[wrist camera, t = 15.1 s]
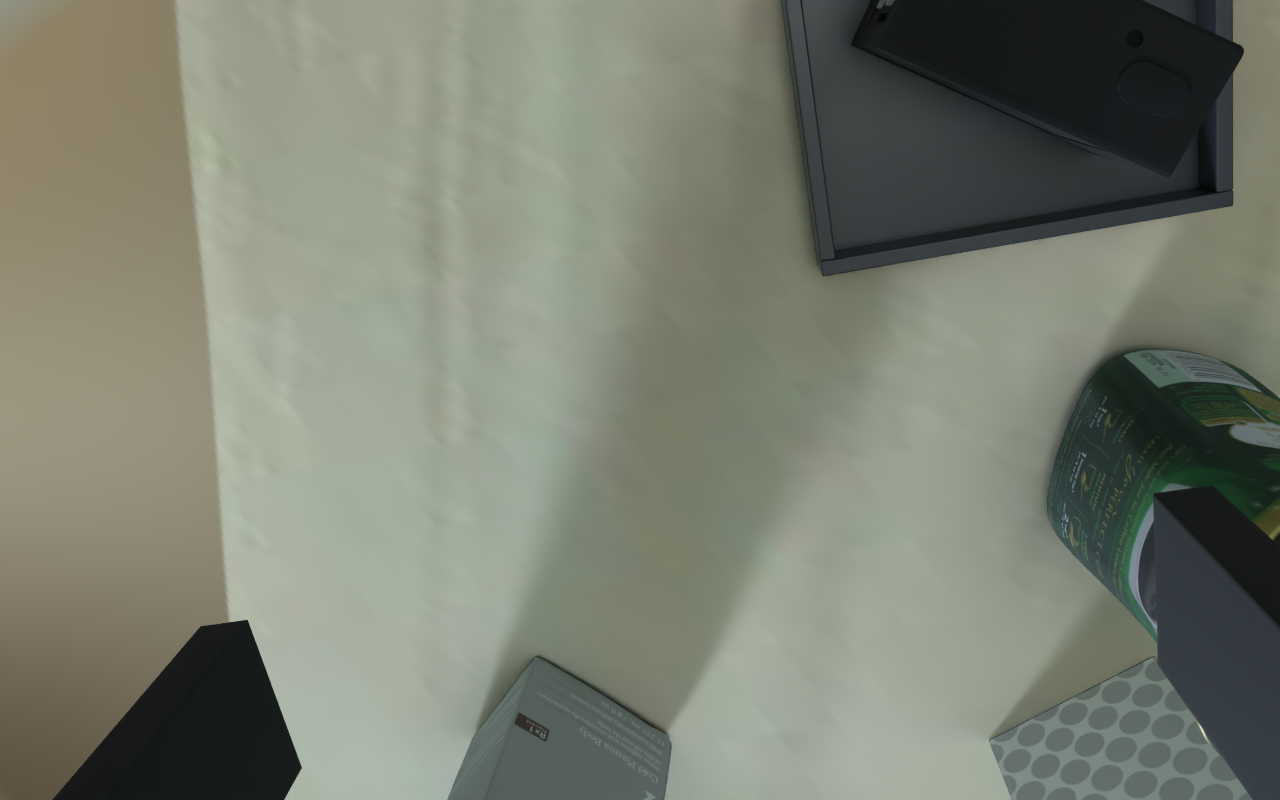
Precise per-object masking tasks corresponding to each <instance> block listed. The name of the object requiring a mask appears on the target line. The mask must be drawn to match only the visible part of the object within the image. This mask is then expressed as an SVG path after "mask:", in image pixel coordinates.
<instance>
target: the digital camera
mask: <svg viewBox="0 0 1280 800" xmlns="http://www.w3.org/2000/svg"><path fill="white" fill-rule="evenodd" d="M851 45H852V46H854V47H856V48H858V49H861V50H863V51H865V52H867V53H869V54H872V55H874V56H876V57H878V58H881V59H883V60H885V61H887V62H889V63H892V64H894V65H896V66H898V67H901V68H903V69H905V70H907V71H910V72H912V73H914V74H916V75H918V76H921V77H923V78H925V79H927V80H930V81H932V82H934V83H936V84H939V85H941V86H943V87H945V88H947V89H950V90H952V91H954V92H956V93H959V94H961V95H963V96H965V97H967V98H970V99H972V100H974V101H976V102H979V103H981V104H983V105H985V106H988V107H990V108H992V109H994V110H996V111H999V112H1001V113H1003V114H1005V115H1008V116H1010V117H1012V118H1014V119H1017V120H1019V121H1021V122H1023V123H1025V124H1028V125H1030V126H1032V127H1034V128H1037V129H1039V130H1041V131H1043V132H1046V133H1048V134H1050V135H1052V136H1054V137H1057V138H1059V139H1061V140H1063V141H1066V142H1068V143H1070V144H1072V145H1074V146H1077V147H1079V148H1081V149H1083V150H1086V151H1088V152H1090V153H1092V154H1095V155H1098V156H1101V157H1104V158H1107V159H1110V160H1113V161H1116V162H1119V163H1122V164H1126V165H1129V166H1132V167H1135V168H1138V169H1141V170H1144V171H1147V172H1150V173H1153V174H1156V175H1160V176H1163V177H1166V178H1169V177H1170V176H1171V175H1172V173H1173V172H1174V170H1175V169H1176V167H1177V165H1178V163H1179V162H1180V160H1181V158H1182V157H1183V155H1184V153H1185V152H1186V150H1187V148H1188V147H1189V145H1190V143H1191V142H1192V140H1193V138H1194V137H1195V135H1196V133H1197V132H1198V130H1199V128H1200V127H1201V125H1202V123H1203V122H1204V120H1205V118H1206V116H1207V115H1208V113H1209V111H1210V110H1211V108H1212V106H1213V105H1214V103H1215V101H1216V100H1217V98H1218V96H1219V95H1220V93H1221V91H1222V90H1223V88H1224V86H1225V85H1226V83H1227V81H1228V80H1229V78H1230V76H1231V75H1232V73H1233V71H1234V70H1235V68H1236V66H1237V65H1238V63H1239V61H1240V60H1241V58H1242V56H1243V53H1244V49H1243V47H1242V46H1241V45H1239V44H1236V43H1234V42H1232V41H1230V40H1228V39H1226V38H1224V37H1221V36H1219V35H1217V34H1215V33H1213V32H1211V31H1208V30H1206V29H1204V28H1202V27H1200V26H1198V25H1195V24H1193V23H1191V22H1189V21H1187V20H1185V19H1183V18H1180V17H1178V16H1176V15H1174V14H1172V13H1170V12H1167V11H1165V10H1163V9H1161V8H1159V7H1157V6H1154V5H1152V4H1150V3H1148V2H1146V1H1144V0H871V1H870V3H869V6H868V8H867V10H866V12H865V14H864V16H863V19H862V21H861V23H860V25H859V27H858V29H857V32H856V34H855V36H854V38H853V40H852V42H851Z"/></svg>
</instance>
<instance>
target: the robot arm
mask: <svg viewBox="0 0 1280 800" xmlns="http://www.w3.org/2000/svg"><path fill="white" fill-rule="evenodd" d="M1153 513H1154V546H1155V578H1156V610H1157V643H1158V666H1159V667H1160V669H1161V670H1162V672H1163V673H1164V674H1165V676H1166V677H1167V679H1168V680H1169V682H1170V683H1171V684H1172V686H1173V687H1174V689H1175V690H1176V692H1177V693H1178V694H1179V696H1180V697H1181V699H1182V700H1183V702H1184V703H1185V704H1186V706H1187V707H1188V709H1189V710H1190V711H1191V713H1192V714H1193V716H1194V717H1195V719H1196V720H1197V721H1198V723H1199V724H1200V726H1201V727H1202V729H1203V730H1204V731H1205V733H1206V734H1207V736H1208V737H1209V739H1210V740H1211V741H1212V743H1213V744H1214V746H1215V747H1216V748H1217V750H1218V751H1219V753H1220V754H1221V756H1222V757H1223V758H1224V760H1225V761H1226V763H1227V764H1228V766H1229V767H1230V768H1231V770H1232V771H1233V773H1234V774H1235V776H1236V777H1237V778H1238V780H1239V781H1240V783H1241V784H1242V786H1243V787H1244V788H1245V790H1246V791H1247V793H1248V794H1249V795H1250V797H1251V798H1252V800H1280V546H1279V545H1278V544H1277V543H1276V542H1274V541H1273V540H1272V539H1271V538H1270V537H1269V536H1268V535H1267V534H1266V533H1265V532H1263V531H1262V530H1261V529H1260V528H1259V527H1258V526H1257V525H1256V524H1255V523H1254V522H1252V521H1251V520H1250V519H1249V518H1248V517H1247V516H1246V515H1245V514H1244V513H1243V512H1241V511H1240V510H1239V509H1238V508H1237V507H1236V506H1235V505H1234V504H1233V503H1232V502H1230V501H1229V500H1228V499H1227V498H1226V497H1225V496H1224V495H1223V494H1222V493H1221V492H1219V491H1218V490H1217V489H1216V488H1215V487H1214V486H1213V485H1209V486H1202V487H1195V488H1188V489H1181V490H1174V491H1166V492H1159V493H1153ZM301 768H302V767H301V764H300V762H299V759H298V756H297V753H296V751H295V748H294V745H293V743H292V740H291V737H290V734H289V732H288V729H287V726H286V723H285V721H284V718H283V715H282V713H281V710H280V707H279V704H278V702H277V699H276V696H275V693H274V691H273V688H272V685H271V683H270V680H269V677H268V674H267V672H266V669H265V666H264V663H263V661H262V658H261V655H260V653H259V650H258V647H257V644H256V642H255V639H254V636H253V633H252V631H251V628H250V625H249V623H248V620H243V621H236V622H229V623H222V624H216V625H208V626H201V627H200V628H199V629H198V630H197V631H196V633H195V634H194V635H193V636H192V637H191V638H190V640H189V641H188V642H187V643H186V644H185V645H184V647H183V648H182V649H181V650H180V651H179V652H178V654H177V655H176V656H175V657H174V658H173V659H172V661H171V662H170V663H169V664H168V665H167V666H166V668H165V669H164V670H163V671H162V672H161V673H160V675H159V676H158V677H157V678H156V679H155V681H154V682H153V683H152V684H151V685H150V686H149V688H148V689H147V690H146V691H145V692H144V693H143V695H142V696H141V697H140V698H139V699H138V700H137V702H136V703H135V704H134V705H133V706H132V707H131V709H130V710H129V711H128V712H127V713H126V714H125V716H124V717H123V718H122V719H121V720H120V721H119V723H118V724H117V725H116V726H115V727H114V728H113V730H112V731H111V732H110V733H109V734H108V735H107V737H106V738H105V739H104V740H103V741H102V743H101V744H100V745H99V746H98V747H97V748H96V750H95V751H94V752H93V753H92V754H91V755H90V757H89V758H88V759H87V760H86V761H85V762H84V764H83V765H82V766H81V767H80V768H79V769H78V771H77V772H76V773H75V774H74V775H73V776H72V778H71V779H70V780H69V781H68V782H67V783H66V785H65V786H64V787H63V788H62V789H61V790H60V792H59V793H58V794H57V795H56V796H55V797H54V799H53V800H284V799H285V797H286V795H287V793H288V792H289V790H290V788H291V786H292V784H293V783H294V781H295V779H296V777H297V775H298V774H299V772H300V770H301Z"/></svg>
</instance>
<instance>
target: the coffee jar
mask: <svg viewBox="0 0 1280 800" xmlns="http://www.w3.org/2000/svg"><path fill="white" fill-rule="evenodd" d="M1209 485H1213V486H1214V487H1215V488H1216V489H1217V490H1218V491H1219V492H1221V493H1222V494H1223V495H1224V496H1225V497H1226V498H1227V499H1228V500H1229V501H1230V502H1232V503H1233V504H1234V505H1235V506H1236V507H1237V508H1238V509H1239V510H1240V511H1241V512H1243V513H1244V514H1245V515H1246V516H1247V517H1248V518H1249V519H1250V520H1251V521H1252V522H1254V523H1255V524H1256V525H1257V526H1258V527H1259V528H1260V529H1261V530H1262V531H1263V532H1265V533H1266V534H1267V535H1268V536H1269V537H1270V538H1271V539H1272V540H1273V541H1274V542H1276V543H1277V544H1278V545H1279V546H1280V399H1279V398H1278V397H1277V396H1276V395H1275V394H1274V393H1273V392H1271V391H1270V390H1269V389H1268V388H1266V387H1265V386H1264V385H1263V384H1261V383H1260V382H1259V381H1257V380H1256V379H1254V378H1253V377H1252V376H1250V375H1249V374H1247V373H1246V372H1244V371H1243V370H1241V369H1239V368H1237V367H1235V366H1233V365H1231V364H1228V363H1226V362H1223V361H1219V360H1216V359H1213V358H1209V357H1206V356H1202V355H1198V354H1194V353H1189V352H1183V351H1174V350H1159V349H1145V350H1139V351H1133V352H1130V353H1127V354H1124V355H1121V356H1119V357H1116V358H1115V359H1113V360H1111V361H1110V362H1108V363H1107V364H1106V365H1104V366H1103V367H1101V368H1100V369H1099V370H1098V371H1097V372H1096V374H1095V375H1094V376H1093V377H1092V378H1091V380H1090V381H1089V382H1088V384H1087V386H1086V387H1085V389H1084V391H1083V393H1082V395H1081V397H1080V399H1079V401H1078V403H1077V405H1076V407H1075V410H1074V412H1073V414H1072V416H1071V418H1070V420H1069V423H1068V425H1067V427H1066V430H1065V433H1064V436H1063V439H1062V442H1061V445H1060V447H1059V450H1058V454H1057V457H1056V460H1055V464H1054V468H1053V472H1052V476H1051V481H1050V486H1049V492H1048V498H1047V510H1048V516H1049V520H1050V523H1051V525H1052V527H1053V529H1054V531H1055V533H1056V534H1057V536H1058V537H1059V538H1060V539H1061V541H1062V542H1063V543H1064V544H1065V546H1066V547H1067V548H1068V549H1069V550H1070V551H1071V552H1072V554H1073V555H1074V556H1075V557H1076V558H1077V559H1078V560H1079V561H1080V562H1081V563H1082V564H1083V565H1084V566H1085V567H1086V568H1087V569H1088V570H1089V571H1090V572H1091V573H1092V574H1093V575H1094V576H1095V577H1096V578H1097V579H1098V580H1099V581H1100V582H1101V583H1102V584H1103V585H1104V586H1105V587H1107V588H1108V589H1109V590H1110V591H1111V592H1112V594H1113V595H1114V596H1115V597H1116V598H1117V599H1118V600H1119V601H1120V602H1121V603H1122V604H1123V605H1124V606H1125V607H1126V608H1127V609H1128V610H1129V611H1130V613H1131V614H1132V615H1133V616H1134V617H1135V618H1136V619H1137V620H1138V621H1139V622H1140V624H1141V625H1142V626H1143V627H1144V628H1145V629H1146V630H1147V631H1148V632H1149V634H1150V635H1151V636H1152V637H1153V638H1154V640H1155V641H1156V642H1157V610H1156V578H1155V546H1154V513H1153V493H1159V492H1166V491H1174V490H1181V489H1188V488H1195V487H1202V486H1209ZM1194 718H1195V717H1194ZM1195 720H1196V719H1195ZM1196 723H1197V725H1198V726H1199V728H1200V730H1201V732H1202V734H1203V735H1204V737H1205V739H1206V740H1207V741H1208V743H1209V744H1210V745H1211V746H1212V747H1213V748H1214V750H1215V751H1216V752H1217V753H1218V754H1219V755H1220V756H1221V754H1220V753H1219V751H1218V750H1217V748H1216V747H1215V746H1214V744H1213V743H1212V741H1211V740H1210V739H1209V737H1208V736H1207V734H1206V733H1205V731H1204V730H1203V729H1202V727H1201V726H1200V724H1199V723H1198V721H1197V720H1196ZM1221 757H1222V756H1221ZM1222 758H1223V757H1222ZM1223 759H1224V758H1223Z"/></svg>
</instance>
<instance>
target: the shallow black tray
mask: <svg viewBox="0 0 1280 800" xmlns="http://www.w3.org/2000/svg"><path fill="white" fill-rule="evenodd" d="M870 1H871V0H781V5H782V12H783V19H784V27H785V34H786V41H787V48H788V56H789V63H790V70H791V77H792V85H793V92H794V99H795V106H796V114H797V121H798V128H799V135H800V143H801V150H802V157H803V164H804V171H805V179H806V186H807V193H808V200H809V208H810V215H811V222H812V229H813V237H814V244H815V251H816V258H817V264H818V266H819V269H820V271H821V273H822V275H823V276H828V275H834V274H840V273H846V272H852V271H857V270H863V269H869V268H875V267H881V266H886V265H892V264H898V263H904V262H910V261H915V260H921V259H927V258H933V257H939V256H945V255H950V254H956V253H962V252H968V251H974V250H979V249H985V248H991V247H997V246H1003V245H1009V244H1014V243H1020V242H1026V241H1032V240H1038V239H1043V238H1049V237H1055V236H1061V235H1067V234H1072V233H1078V232H1084V231H1090V230H1096V229H1102V228H1107V227H1113V226H1119V225H1125V224H1131V223H1136V222H1142V221H1148V220H1154V219H1160V218H1165V217H1171V216H1177V215H1183V214H1189V213H1195V212H1200V211H1206V210H1212V209H1218V208H1224V207H1229V206H1233V190H1232V189H1233V73H1232V75H1231V76H1230V78H1229V80H1228V81H1227V83H1226V85H1225V86H1224V88H1223V90H1222V91H1221V93H1220V95H1219V96H1218V98H1217V100H1216V101H1215V103H1214V105H1213V106H1212V108H1211V110H1210V111H1209V113H1208V115H1207V116H1206V118H1205V120H1204V122H1203V123H1202V125H1201V127H1200V128H1199V130H1198V132H1197V133H1196V135H1195V137H1194V138H1193V140H1192V142H1191V143H1190V145H1189V147H1188V148H1187V150H1186V152H1185V153H1184V155H1183V157H1182V158H1181V160H1180V162H1179V163H1178V165H1177V167H1176V169H1175V170H1174V172H1173V173H1172V175H1171V176H1170V177H1169V178H1166V177H1163V176H1160V175H1156V174H1153V173H1150V172H1147V171H1144V170H1141V169H1138V168H1135V167H1132V166H1129V165H1126V164H1122V163H1119V162H1116V161H1113V160H1110V159H1107V158H1104V157H1101V156H1098V155H1095V154H1092V153H1090V152H1088V151H1086V150H1083V149H1081V148H1079V147H1077V146H1074V145H1072V144H1070V143H1068V142H1066V141H1063V140H1061V139H1059V138H1057V137H1054V136H1052V135H1050V134H1048V133H1046V132H1043V131H1041V130H1039V129H1037V128H1034V127H1032V126H1030V125H1028V124H1025V123H1023V122H1021V121H1019V120H1017V119H1014V118H1012V117H1010V116H1008V115H1005V114H1003V113H1001V112H999V111H996V110H994V109H992V108H990V107H988V106H985V105H983V104H981V103H979V102H976V101H974V100H972V99H970V98H967V97H965V96H963V95H961V94H959V93H956V92H954V91H952V90H950V89H947V88H945V87H943V86H941V85H939V84H936V83H934V82H932V81H930V80H927V79H925V78H923V77H921V76H918V75H916V74H914V73H912V72H910V71H907V70H905V69H903V68H901V67H898V66H896V65H894V64H892V63H889V62H887V61H885V60H883V59H881V58H878V57H876V56H874V55H872V54H869V53H867V52H865V51H863V50H861V49H858V48H856V47H854V46H852V45H851V42H852V40H853V38H854V36H855V34H856V32H857V29H858V27H859V25H860V23H861V21H862V19H863V16H864V14H865V12H866V10H867V8H868V6H869V3H870ZM1144 1H1146V2H1148V3H1150V4H1152V5H1154V6H1157V7H1159V8H1161V9H1163V10H1165V11H1167V12H1170V13H1172V14H1174V15H1176V16H1178V17H1180V18H1183V19H1185V20H1187V21H1189V22H1191V23H1193V24H1195V25H1198V26H1200V27H1202V28H1204V29H1206V30H1208V31H1211V32H1213V33H1215V34H1217V35H1219V36H1221V37H1224V38H1226V39H1228V40H1230V41H1232V42H1233V0H1144Z"/></svg>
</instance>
